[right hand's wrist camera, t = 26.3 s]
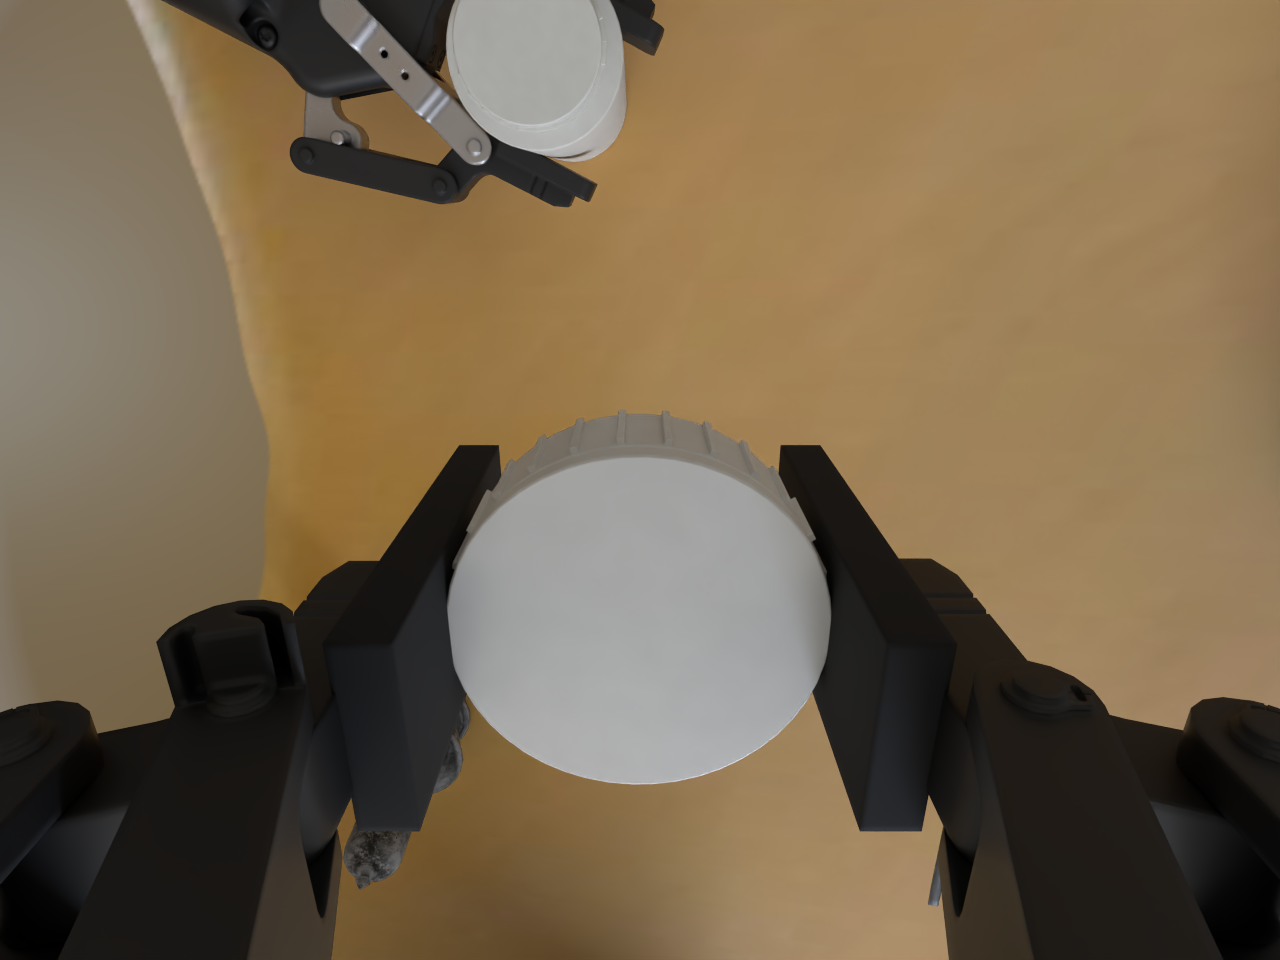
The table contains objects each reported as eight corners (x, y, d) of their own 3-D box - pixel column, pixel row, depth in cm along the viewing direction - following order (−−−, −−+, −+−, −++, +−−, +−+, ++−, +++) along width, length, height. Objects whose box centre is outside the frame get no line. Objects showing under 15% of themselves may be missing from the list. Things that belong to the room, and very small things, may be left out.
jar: (649, 109, 33) (662, 55, 19) (568, 185, 34) (524, 189, 20) (575, 11, 31) (530, -124, 17) (493, 95, 33) (390, 30, 19)
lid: (439, 423, 11) (402, 467, 9) (809, 391, 11) (841, 430, 9) (498, 718, 13) (476, 800, 11) (809, 696, 13) (836, 775, 11)
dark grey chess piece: (368, 735, 46) (283, 913, 35) (392, 663, 44) (311, 827, 33) (458, 763, 47) (404, 945, 36) (487, 693, 45) (439, 862, 34)
